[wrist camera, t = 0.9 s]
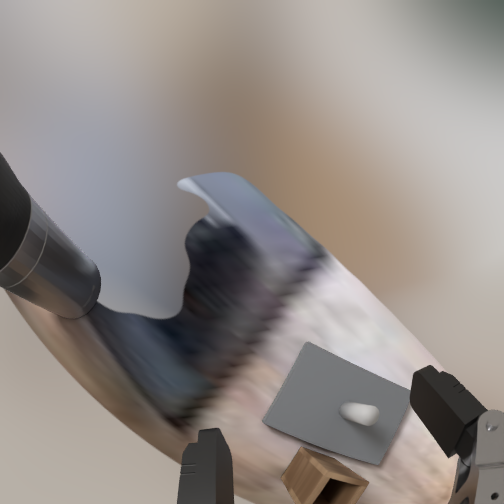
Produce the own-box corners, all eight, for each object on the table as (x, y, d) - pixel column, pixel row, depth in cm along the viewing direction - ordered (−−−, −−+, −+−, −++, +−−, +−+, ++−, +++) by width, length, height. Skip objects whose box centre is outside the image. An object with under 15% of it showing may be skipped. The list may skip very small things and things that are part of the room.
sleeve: (280, 477, 26) (300, 511, 17) (301, 446, 28) (328, 471, 19) (314, 488, 25) (342, 520, 16) (334, 458, 27) (369, 482, 18)
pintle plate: (261, 420, 29) (271, 434, 22) (305, 342, 33) (325, 335, 26) (373, 462, 27) (402, 476, 20) (407, 391, 31) (441, 391, 24)
